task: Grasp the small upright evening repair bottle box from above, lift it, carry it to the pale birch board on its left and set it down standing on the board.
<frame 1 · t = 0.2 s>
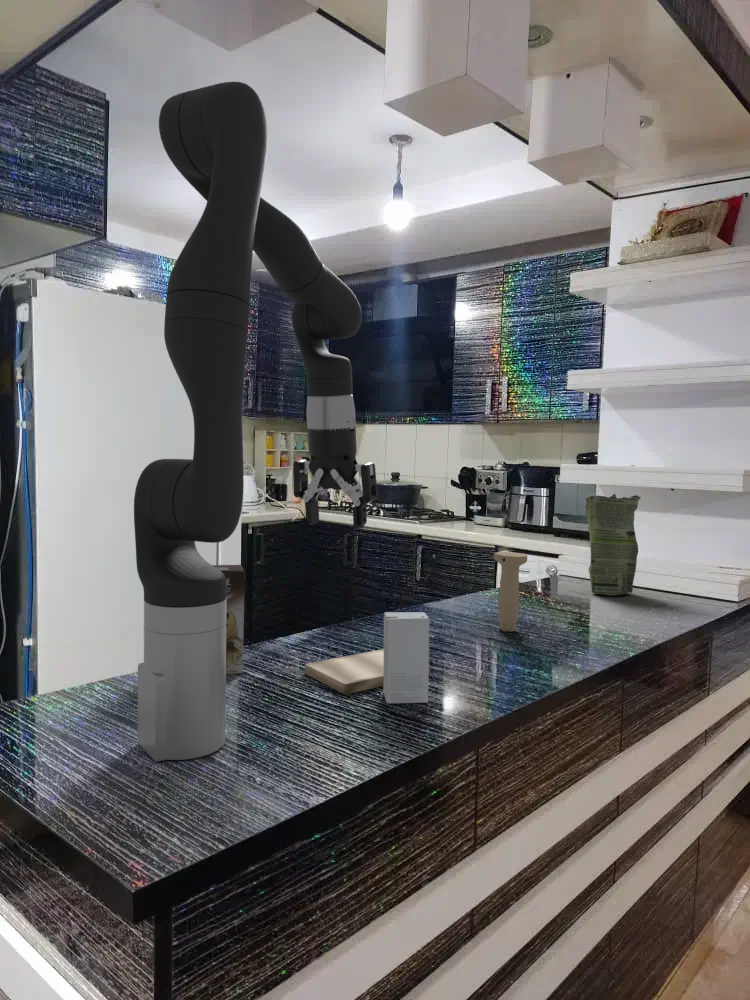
hand: (336, 525, 113), 22 cm above the worktop, tool pointing down, fingers open, 8 cm apart
pouch: (609, 593, 178), on the worktop
skincare box: (404, 700, 99), on the worktop
coffee box: (212, 670, 110), on the worktop
handle: (507, 631, 138), on the worktop
birch board: (367, 674, 110), on the worktop
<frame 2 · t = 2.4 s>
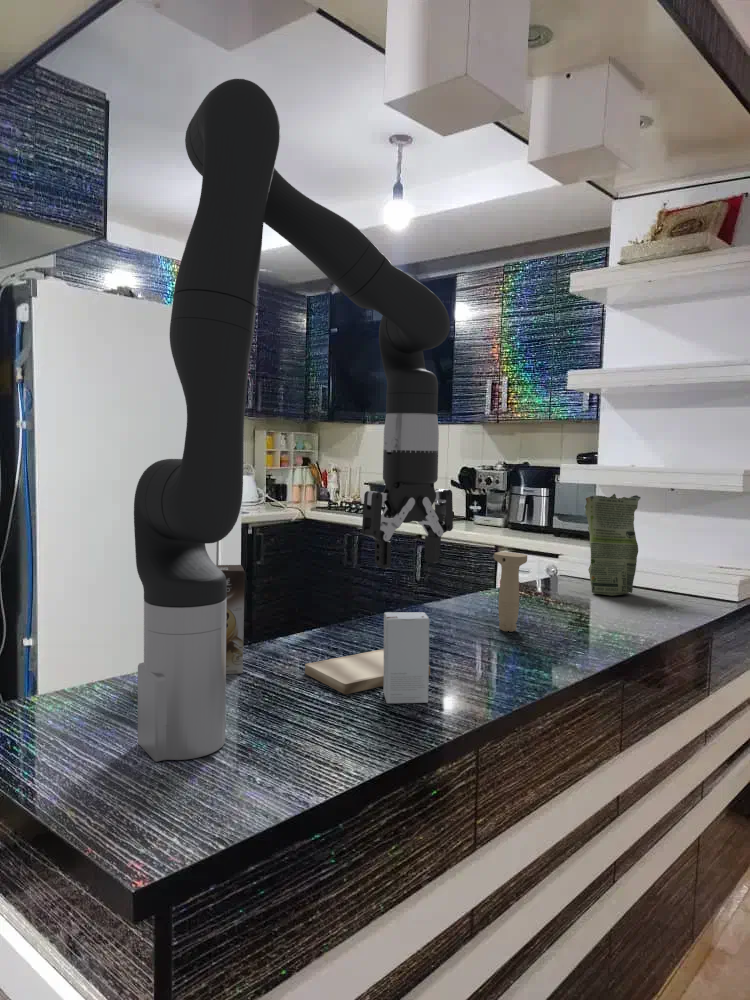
hand: (408, 565, 98), 19 cm above the worktop, tool pointing down, fingers open, 8 cm apart
nothing on the worktop moved.
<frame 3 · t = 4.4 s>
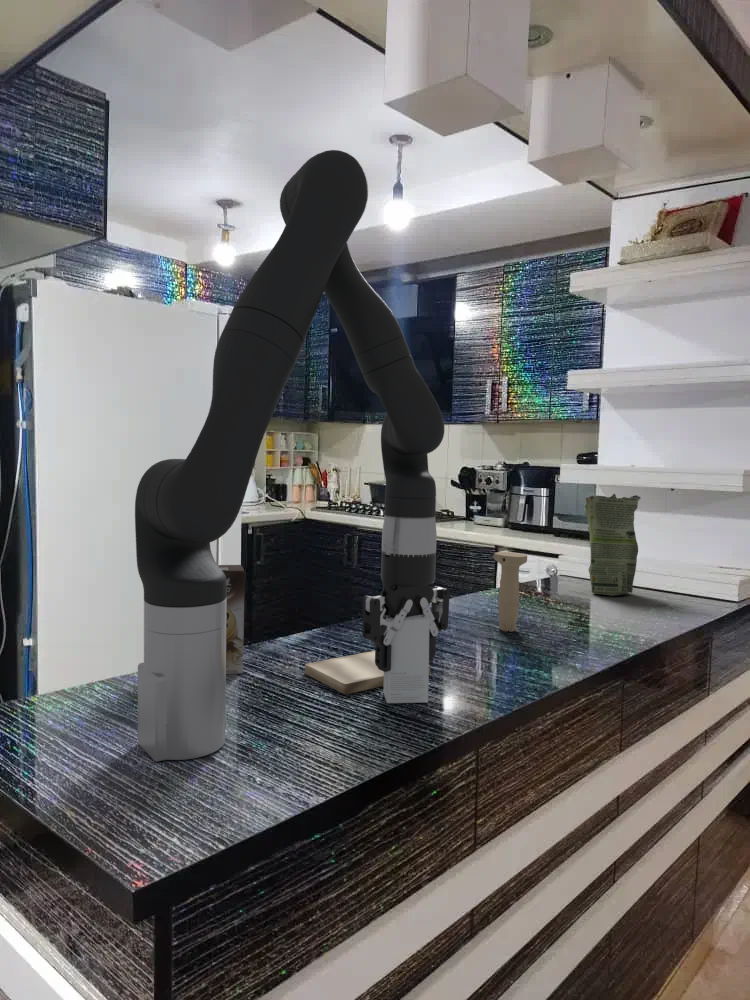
hand: (405, 665, 99), 5 cm above the worktop, tool pointing down, fingers closed on skincare box, 7 cm apart
skincare box: (404, 700, 99), on the worktop, touching gripper
everything else where it was.
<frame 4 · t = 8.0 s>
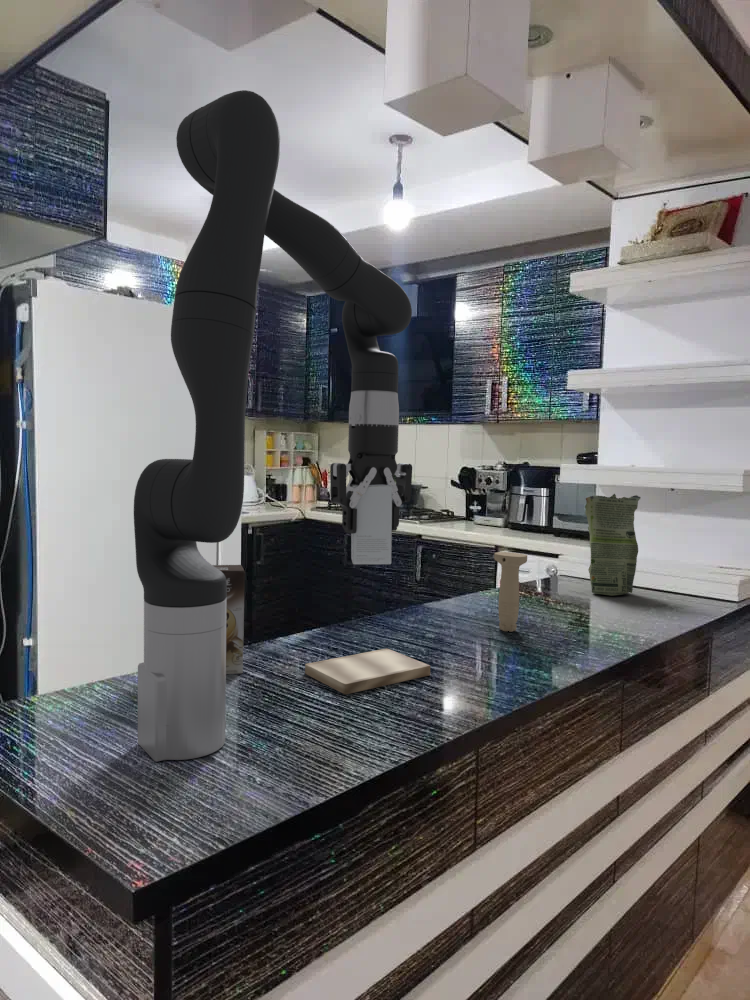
hand: (370, 531, 108), 22 cm above the worktop, tool pointing down, fingers closed on skincare box, 7 cm apart
skincare box: (370, 564, 108), point 17 cm above the worktop, touching gripper
everything else where it was.
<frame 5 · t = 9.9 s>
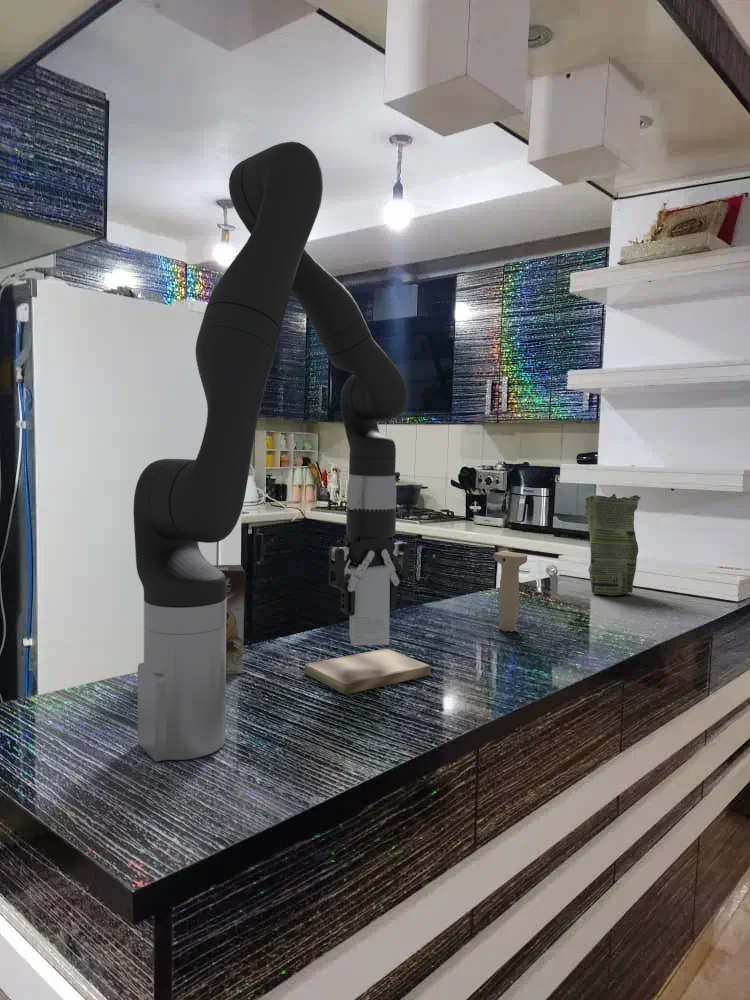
hand: (368, 611, 109), 10 cm above the worktop, tool pointing down, fingers closed on skincare box, 7 cm apart
skincare box: (368, 643, 109), point 5 cm above the worktop, touching gripper
everything else where it was.
when the fingers open (7 cm above the worktop, at t = 11.6 s): skincare box stays where it is, resting on birch board.
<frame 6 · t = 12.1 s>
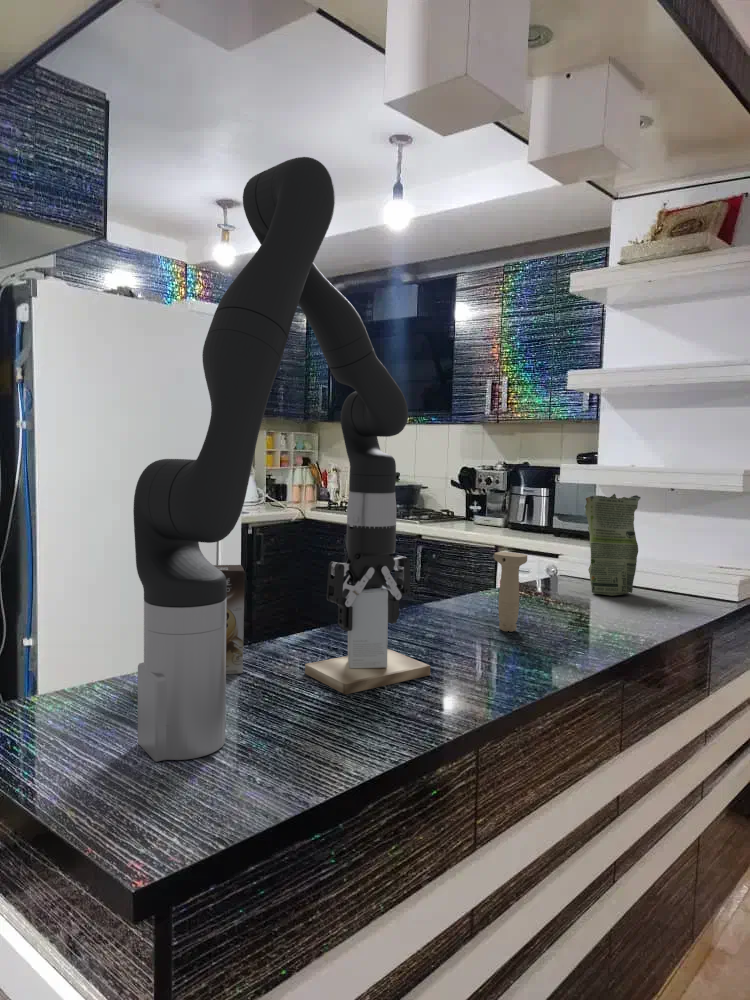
hand: (368, 626, 109), 8 cm above the worktop, tool pointing down, fingers open, 8 cm apart
skincare box: (366, 666, 109), point 1 cm above the worktop, touching birch board
everything else where it was.
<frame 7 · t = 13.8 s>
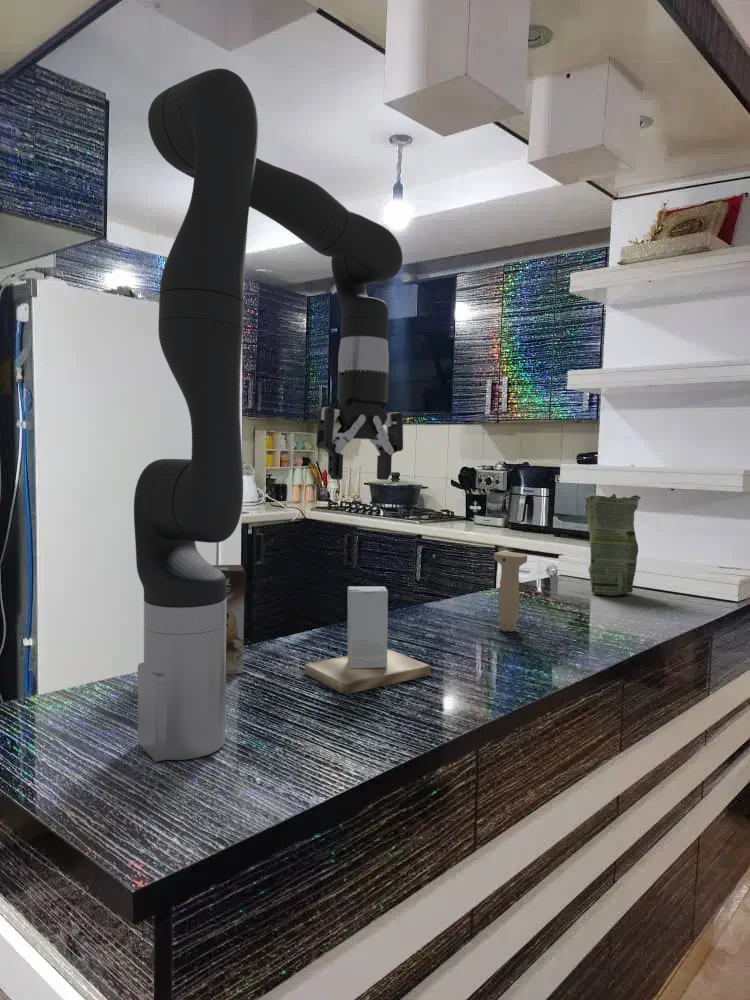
hand: (359, 479, 106), 30 cm above the worktop, tool pointing down, fingers open, 8 cm apart
nothing on the worktop moved.
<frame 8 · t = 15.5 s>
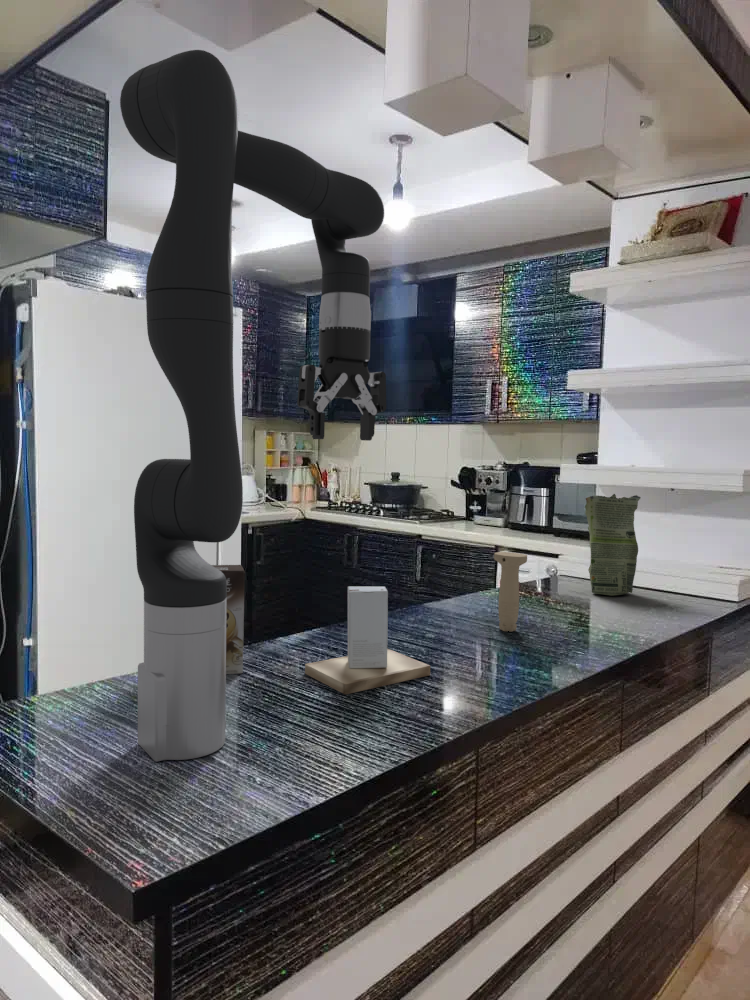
hand: (342, 439, 105), 36 cm above the worktop, tool pointing down, fingers open, 8 cm apart
nothing on the worktop moved.
at the end: skincare box inside the target area on the birch board (0.4 cm from its centre), point 1.3 cm above the birch board's base; skincare box tilted 0°; the gripper is holding nothing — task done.
